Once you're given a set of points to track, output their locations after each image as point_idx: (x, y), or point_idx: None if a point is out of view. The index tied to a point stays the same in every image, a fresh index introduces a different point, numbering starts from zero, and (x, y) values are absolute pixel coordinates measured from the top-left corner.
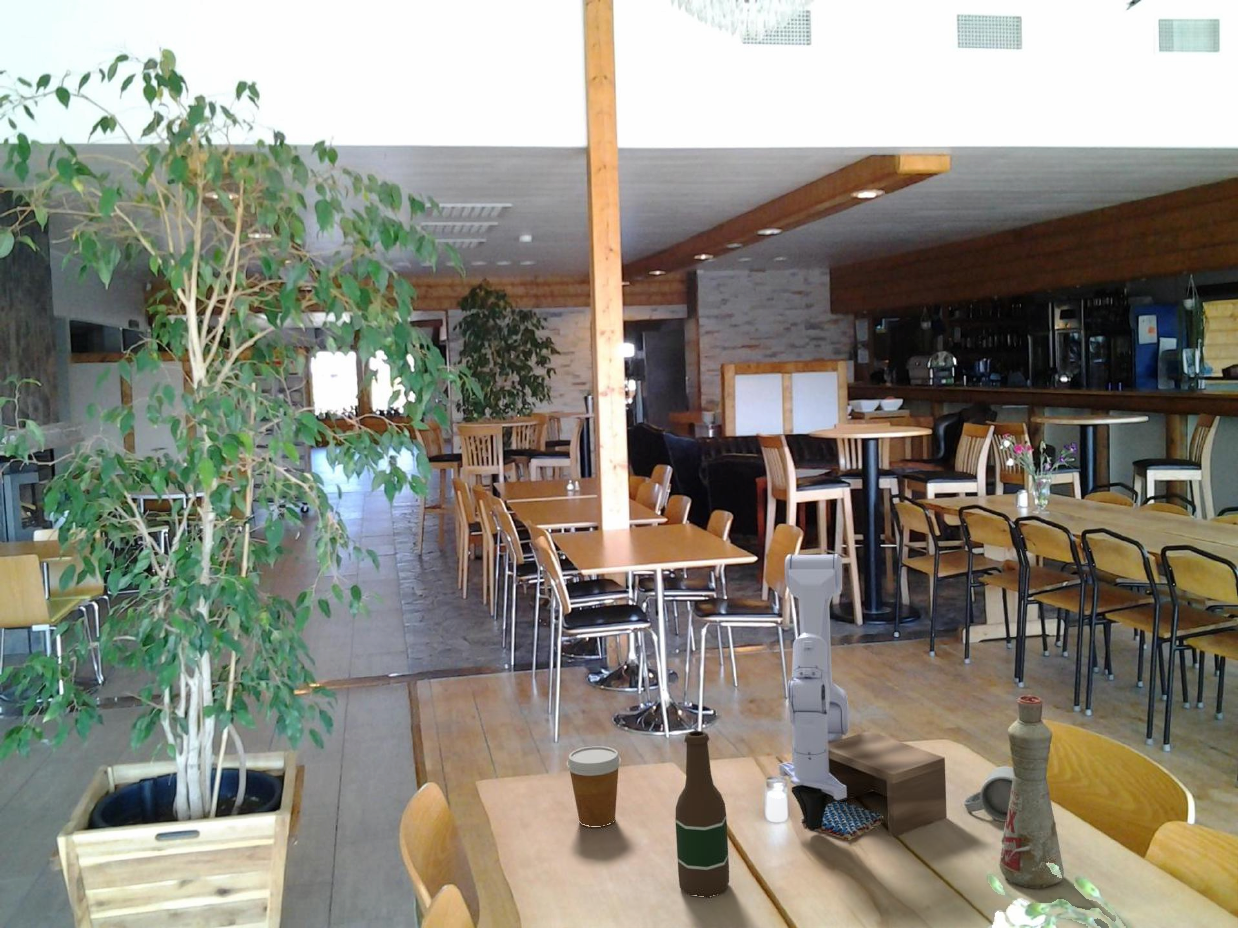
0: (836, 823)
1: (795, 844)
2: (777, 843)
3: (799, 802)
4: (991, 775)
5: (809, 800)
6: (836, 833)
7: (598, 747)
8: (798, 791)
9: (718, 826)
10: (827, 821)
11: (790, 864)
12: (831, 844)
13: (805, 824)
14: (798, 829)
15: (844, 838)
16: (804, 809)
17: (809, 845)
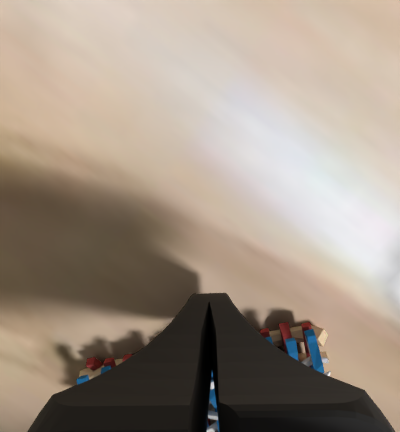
0: None
1: (174, 180)
2: (231, 120)
3: (262, 352)
4: None
5: (78, 388)
6: (127, 358)
7: None
8: (236, 422)
9: None
10: (210, 392)
11: (14, 28)
12: (92, 295)
13: (300, 330)
14: (287, 283)
15: (92, 358)
16: (219, 336)
17: (132, 221)
